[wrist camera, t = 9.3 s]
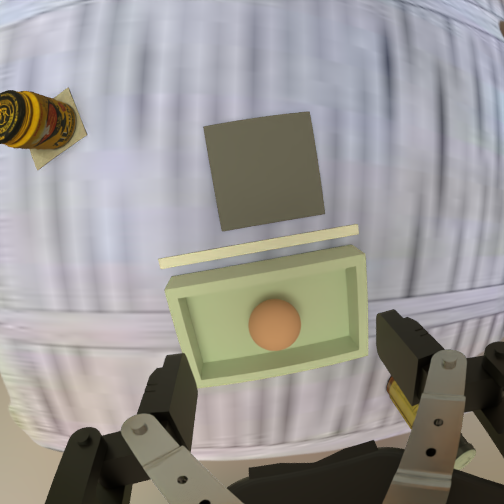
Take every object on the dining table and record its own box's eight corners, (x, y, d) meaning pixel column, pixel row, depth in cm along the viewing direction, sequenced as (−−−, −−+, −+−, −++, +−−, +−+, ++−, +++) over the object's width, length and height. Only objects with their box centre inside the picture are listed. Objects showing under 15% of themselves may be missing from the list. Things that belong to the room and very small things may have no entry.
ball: (292, 286, 39) (303, 307, 33) (298, 329, 40) (308, 355, 34) (243, 295, 38) (245, 318, 33) (251, 338, 40) (254, 365, 34)
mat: (308, 112, 34) (309, 111, 34) (324, 213, 37) (325, 213, 37) (203, 127, 34) (203, 126, 34) (222, 230, 37) (221, 231, 37)
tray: (351, 244, 38) (365, 253, 34) (356, 338, 42) (367, 355, 37) (171, 276, 38) (164, 289, 34) (196, 368, 41) (194, 388, 37)
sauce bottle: (416, 387, 45) (476, 466, 26) (384, 400, 45) (436, 487, 26) (419, 357, 44) (489, 436, 25) (384, 370, 44) (447, 460, 24)
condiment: (87, 134, 33) (34, 124, 21) (38, 170, 33) (-22, 175, 22) (69, 87, 31) (16, 64, 20) (21, 124, 32) (-37, 117, 20)
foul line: (356, 223, 38) (357, 224, 37) (357, 233, 38) (358, 234, 38) (158, 258, 37) (158, 259, 37) (161, 268, 38) (160, 269, 37)
